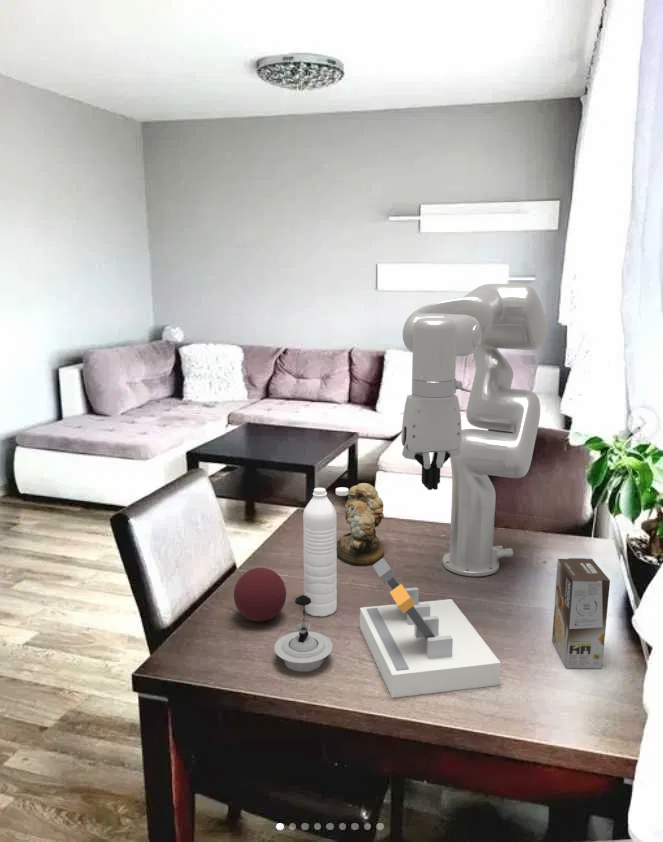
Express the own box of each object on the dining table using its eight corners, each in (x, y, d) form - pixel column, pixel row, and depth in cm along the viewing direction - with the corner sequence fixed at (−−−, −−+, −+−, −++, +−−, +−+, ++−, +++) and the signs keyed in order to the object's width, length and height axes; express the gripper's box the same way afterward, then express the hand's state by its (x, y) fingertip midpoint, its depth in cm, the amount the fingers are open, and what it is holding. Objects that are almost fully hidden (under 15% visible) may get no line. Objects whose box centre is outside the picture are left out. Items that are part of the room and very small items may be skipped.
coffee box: (603, 669, 113) (612, 580, 110) (565, 668, 113) (572, 580, 110) (585, 640, 122) (592, 557, 119) (549, 639, 122) (556, 557, 119)
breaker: (415, 600, 126) (383, 557, 123) (423, 613, 121) (390, 569, 118) (405, 607, 126) (372, 565, 123) (413, 621, 121) (379, 577, 118)
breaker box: (450, 618, 130) (452, 583, 128) (499, 685, 109) (501, 644, 107) (359, 627, 127) (360, 591, 125) (391, 698, 105) (392, 656, 104)
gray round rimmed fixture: (322, 612, 107) (339, 585, 116) (264, 604, 110) (284, 578, 119) (323, 682, 110) (339, 649, 119) (265, 672, 112) (286, 641, 122)
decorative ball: (294, 609, 133) (293, 562, 131) (274, 635, 124) (273, 584, 122) (247, 602, 136) (246, 556, 134) (225, 626, 127) (223, 577, 125)
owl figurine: (331, 537, 170) (331, 472, 166) (377, 536, 171) (379, 471, 167) (338, 567, 152) (338, 495, 149) (389, 566, 153) (391, 494, 150)
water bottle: (302, 616, 130) (300, 493, 125) (305, 600, 137) (304, 483, 131) (347, 618, 130) (347, 494, 125) (348, 602, 136) (349, 484, 131)
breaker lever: (435, 630, 115) (401, 583, 112) (445, 645, 111) (410, 597, 107) (423, 638, 115) (389, 592, 112) (433, 654, 110) (398, 606, 107)
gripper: (465, 383, 124) (461, 478, 128) (386, 386, 121) (385, 484, 125) (481, 390, 117) (477, 491, 121) (398, 394, 114) (397, 497, 118)
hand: (430, 487), depth 123 cm, fingers closed
